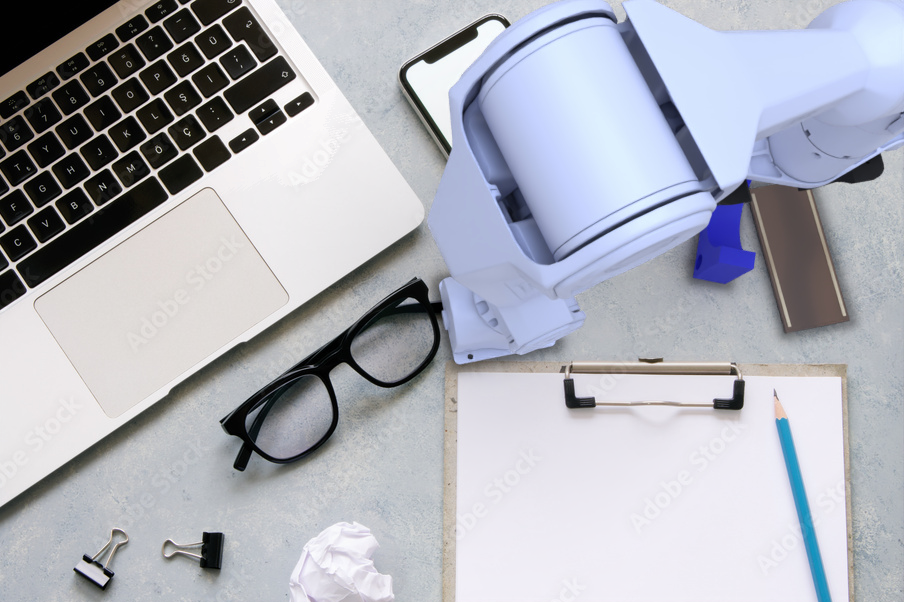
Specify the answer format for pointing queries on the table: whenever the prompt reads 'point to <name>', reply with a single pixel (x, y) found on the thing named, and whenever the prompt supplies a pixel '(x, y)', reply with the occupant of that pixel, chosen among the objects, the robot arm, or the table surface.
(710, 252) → the cable clip
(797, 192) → the inlay
